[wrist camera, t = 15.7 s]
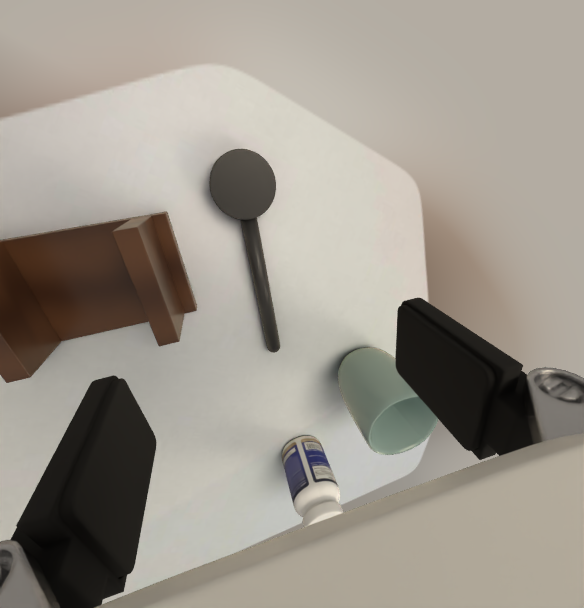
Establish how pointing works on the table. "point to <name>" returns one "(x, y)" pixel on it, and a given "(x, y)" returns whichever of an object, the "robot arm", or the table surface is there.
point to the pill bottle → (310, 480)
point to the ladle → (249, 218)
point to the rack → (88, 287)
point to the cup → (383, 402)
